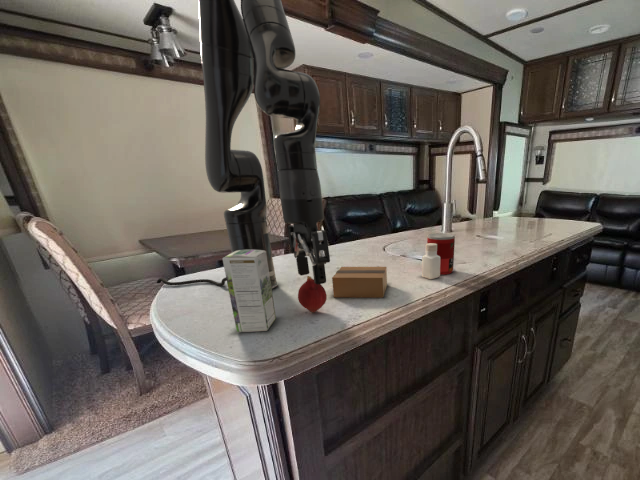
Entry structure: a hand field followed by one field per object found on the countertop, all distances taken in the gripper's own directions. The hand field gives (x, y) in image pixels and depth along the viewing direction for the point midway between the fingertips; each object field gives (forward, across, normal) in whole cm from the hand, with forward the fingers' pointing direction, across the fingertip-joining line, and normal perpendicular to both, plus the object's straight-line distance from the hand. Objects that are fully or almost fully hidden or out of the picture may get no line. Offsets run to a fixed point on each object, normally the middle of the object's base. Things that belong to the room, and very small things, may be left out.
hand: (312, 278), depth 65 cm
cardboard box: (+8, -6, +15) cm, 18 cm away
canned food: (+8, -6, +42) cm, 44 cm away
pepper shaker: (+8, -3, +36) cm, 37 cm away
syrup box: (+8, -1, -12) cm, 14 cm away
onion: (+8, 0, 0) cm, 8 cm away
